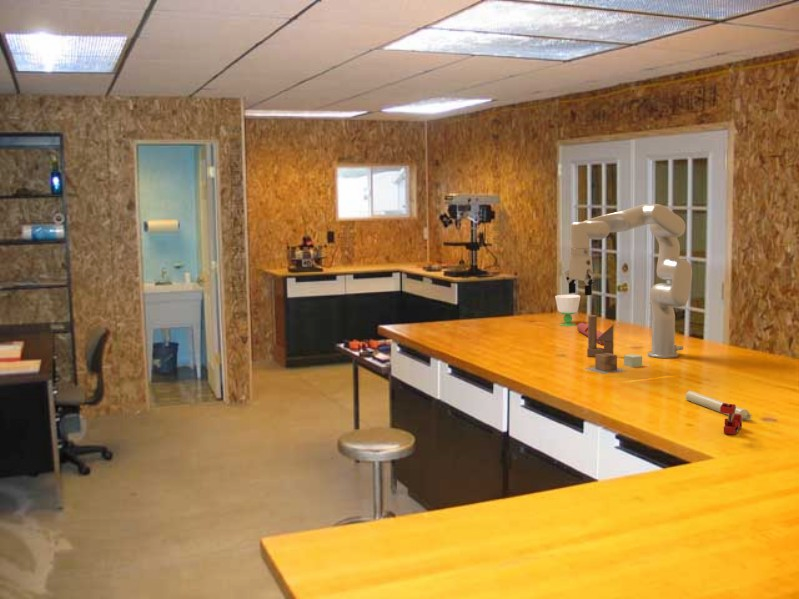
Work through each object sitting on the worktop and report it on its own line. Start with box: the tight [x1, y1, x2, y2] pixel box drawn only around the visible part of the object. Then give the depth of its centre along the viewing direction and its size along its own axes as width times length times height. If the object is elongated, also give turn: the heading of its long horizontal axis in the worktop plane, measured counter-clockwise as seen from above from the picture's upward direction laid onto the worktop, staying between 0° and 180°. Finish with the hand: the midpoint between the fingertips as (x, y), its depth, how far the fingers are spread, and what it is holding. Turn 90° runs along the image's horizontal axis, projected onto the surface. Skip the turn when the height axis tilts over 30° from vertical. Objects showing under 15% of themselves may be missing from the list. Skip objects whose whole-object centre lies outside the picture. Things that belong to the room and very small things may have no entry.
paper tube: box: [685, 390, 753, 422], centre depth 268 cm, size 4×30×4 cm, turn 16°
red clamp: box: [719, 402, 743, 435], centre depth 242 cm, size 3×14×10 cm, turn 145°
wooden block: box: [586, 314, 614, 358], centre depth 362 cm, size 4×11×18 cm, turn 67°
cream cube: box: [623, 354, 643, 368], centre depth 338 cm, size 5×5×5 cm
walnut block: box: [594, 353, 618, 372], centre depth 331 cm, size 6×6×6 cm
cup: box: [554, 294, 581, 327], centre depth 454 cm, size 14×14×16 cm
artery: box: [576, 322, 604, 346], centre depth 410 cm, size 42×5×5 cm, turn 3°
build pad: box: [584, 366, 628, 375], centre depth 332 cm, size 12×12×1 cm
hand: (580, 294), depth 340 cm, fingers open, 9 cm apart
